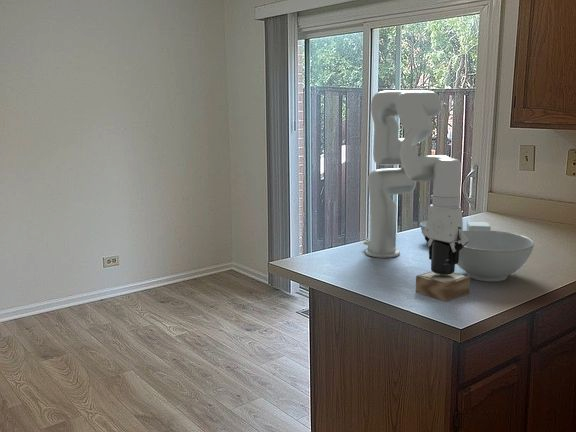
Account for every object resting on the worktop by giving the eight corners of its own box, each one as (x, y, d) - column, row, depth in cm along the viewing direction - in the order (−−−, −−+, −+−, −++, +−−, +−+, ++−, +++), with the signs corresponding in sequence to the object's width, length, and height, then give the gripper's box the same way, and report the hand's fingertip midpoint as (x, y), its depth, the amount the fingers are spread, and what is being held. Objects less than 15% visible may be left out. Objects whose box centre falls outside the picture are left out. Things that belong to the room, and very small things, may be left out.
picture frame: (415, 291, 171) (416, 275, 170) (439, 284, 178) (439, 267, 177) (446, 301, 163) (446, 284, 162) (469, 293, 169) (470, 276, 168)
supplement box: (489, 261, 201) (491, 226, 198) (467, 260, 202) (468, 225, 200) (486, 255, 208) (488, 221, 205) (465, 255, 209) (466, 221, 207)
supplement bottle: (450, 276, 164) (452, 235, 162) (427, 273, 168) (429, 233, 165) (457, 270, 170) (459, 230, 167) (435, 266, 174) (436, 228, 171)
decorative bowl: (480, 259, 203) (482, 226, 201) (549, 278, 181) (552, 241, 179) (426, 272, 189) (427, 237, 187) (494, 295, 167) (496, 255, 165)
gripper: (413, 199, 169) (411, 257, 173) (463, 207, 156) (460, 270, 159) (430, 196, 174) (428, 253, 177) (479, 204, 160) (476, 265, 164)
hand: (443, 260), depth 168 cm, fingers closed on supplement bottle, 6 cm apart
